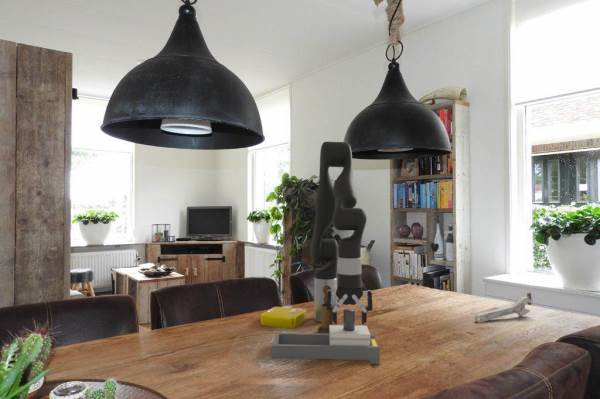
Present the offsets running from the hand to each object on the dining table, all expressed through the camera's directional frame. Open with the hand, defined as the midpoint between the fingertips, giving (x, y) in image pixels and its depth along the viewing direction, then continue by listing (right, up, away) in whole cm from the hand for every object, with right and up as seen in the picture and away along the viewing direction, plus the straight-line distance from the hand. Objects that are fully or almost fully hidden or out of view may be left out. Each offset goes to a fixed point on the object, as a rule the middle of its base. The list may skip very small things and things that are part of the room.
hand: (349, 323), depth 129 cm
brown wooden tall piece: (-6, -11, +20) cm, 23 cm away
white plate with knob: (0, -9, 0) cm, 9 cm away
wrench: (+70, -11, +44) cm, 83 cm away
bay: (-7, -10, 0) cm, 13 cm away
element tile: (-22, -11, +38) cm, 45 cm away
